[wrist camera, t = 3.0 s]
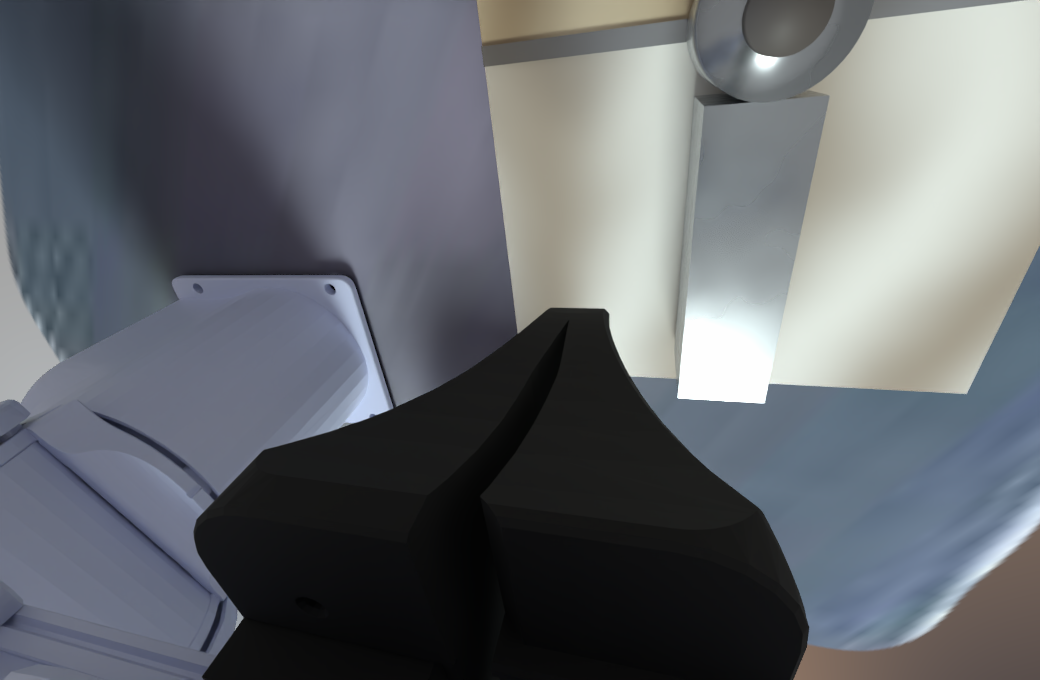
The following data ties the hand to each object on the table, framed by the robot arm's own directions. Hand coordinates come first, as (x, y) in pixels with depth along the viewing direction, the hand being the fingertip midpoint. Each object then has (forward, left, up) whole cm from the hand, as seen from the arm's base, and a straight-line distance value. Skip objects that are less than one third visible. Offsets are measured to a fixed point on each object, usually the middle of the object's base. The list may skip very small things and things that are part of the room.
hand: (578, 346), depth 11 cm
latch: (+4, +2, -6) cm, 7 cm away
